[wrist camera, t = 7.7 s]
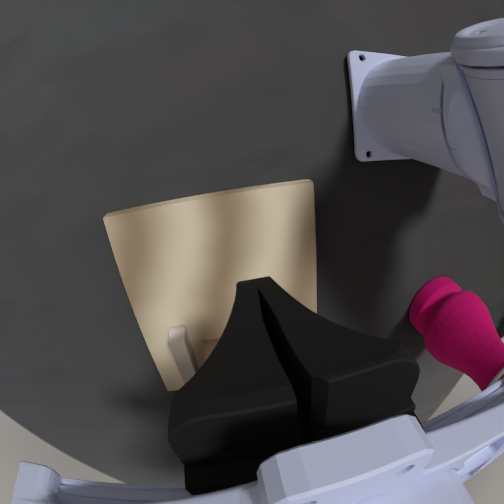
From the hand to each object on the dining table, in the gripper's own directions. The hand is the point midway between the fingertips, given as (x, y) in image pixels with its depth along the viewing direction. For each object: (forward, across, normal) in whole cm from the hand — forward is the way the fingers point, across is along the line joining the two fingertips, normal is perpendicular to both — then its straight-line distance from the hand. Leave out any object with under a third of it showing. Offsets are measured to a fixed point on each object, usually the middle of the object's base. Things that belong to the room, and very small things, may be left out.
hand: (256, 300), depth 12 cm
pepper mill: (+10, -19, +12) cm, 25 cm away
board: (+10, +2, +6) cm, 12 cm away
